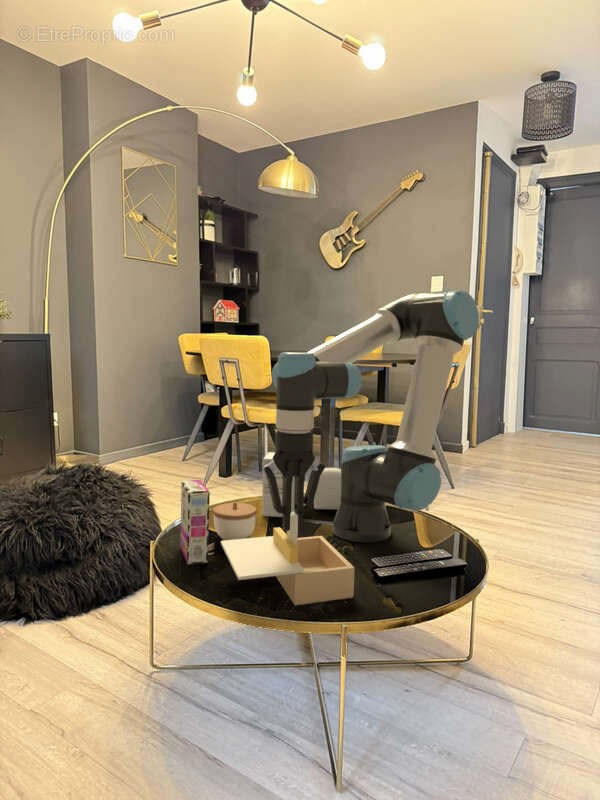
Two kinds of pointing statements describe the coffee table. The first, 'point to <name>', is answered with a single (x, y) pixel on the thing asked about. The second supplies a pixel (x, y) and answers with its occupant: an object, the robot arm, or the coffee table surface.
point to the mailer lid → (263, 556)
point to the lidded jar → (234, 520)
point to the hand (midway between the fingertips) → (291, 544)
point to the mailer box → (319, 573)
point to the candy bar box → (194, 521)
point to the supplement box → (266, 496)
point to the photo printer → (328, 489)
